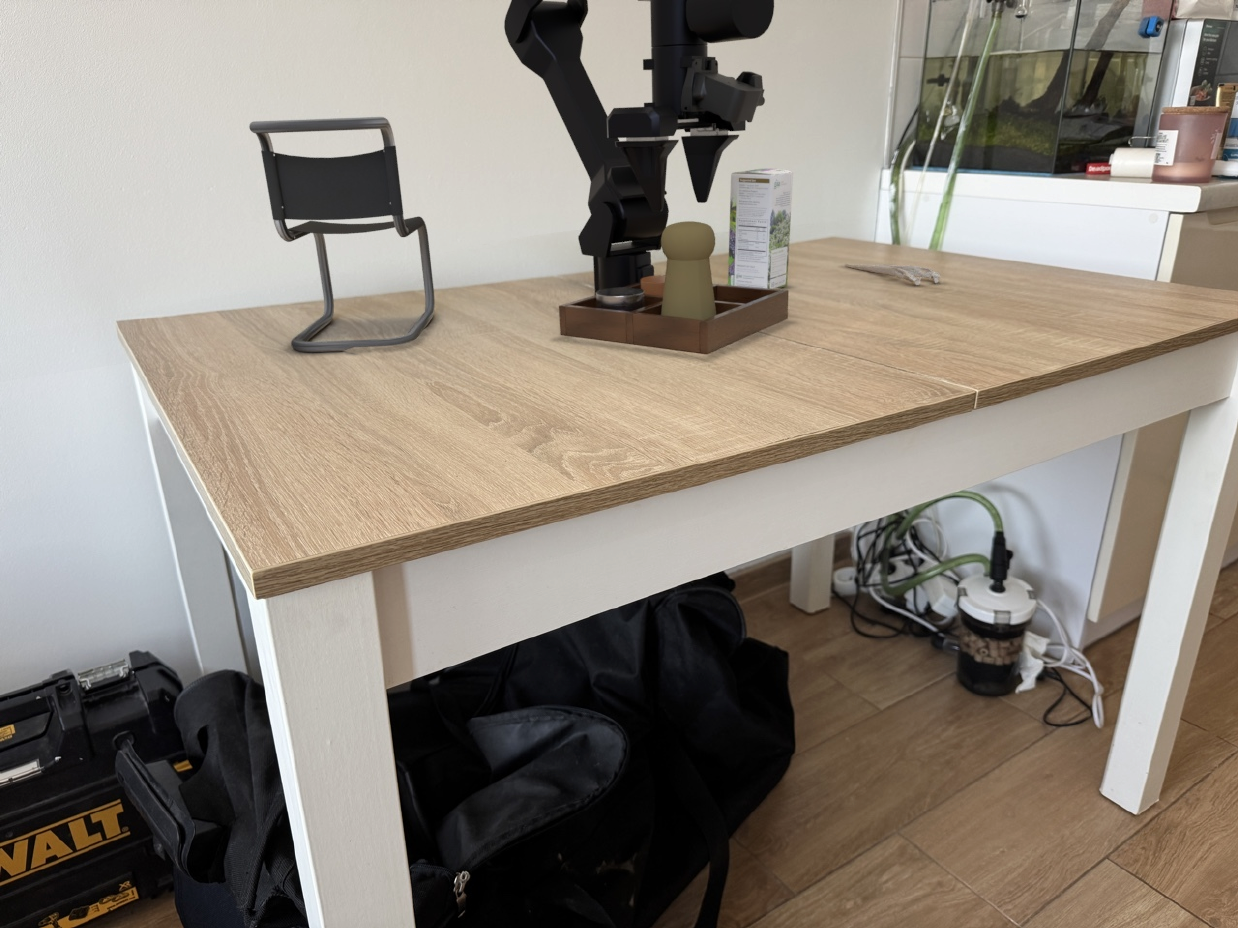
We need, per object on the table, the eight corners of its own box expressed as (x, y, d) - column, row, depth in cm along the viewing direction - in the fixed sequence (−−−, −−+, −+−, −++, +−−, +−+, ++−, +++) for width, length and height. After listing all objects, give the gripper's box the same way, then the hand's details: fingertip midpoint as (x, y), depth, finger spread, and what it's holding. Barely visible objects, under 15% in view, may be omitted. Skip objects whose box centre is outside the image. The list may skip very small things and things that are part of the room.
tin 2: (632, 317, 101) (631, 280, 99) (657, 308, 105) (656, 273, 103) (671, 321, 98) (670, 284, 97) (694, 312, 102) (694, 276, 100)
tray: (560, 339, 94) (558, 305, 93) (651, 308, 107) (651, 278, 106) (707, 359, 85) (707, 322, 83) (787, 322, 98) (788, 290, 97)
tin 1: (587, 332, 94) (586, 294, 93) (615, 323, 98) (614, 285, 97) (627, 337, 92) (626, 298, 90) (654, 327, 96) (653, 289, 94)
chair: (282, 355, 92) (242, 121, 84) (327, 319, 108) (297, 120, 100) (412, 349, 92) (384, 116, 84) (437, 314, 108) (416, 116, 100)
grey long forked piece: (942, 282, 116) (943, 266, 116) (912, 286, 115) (913, 270, 114) (858, 273, 132) (859, 258, 131) (831, 276, 130) (831, 262, 129)
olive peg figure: (654, 331, 93) (652, 220, 89) (713, 327, 94) (713, 217, 90) (662, 344, 87) (660, 227, 84) (724, 341, 88) (725, 224, 84)
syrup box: (748, 283, 120) (750, 168, 115) (789, 286, 117) (793, 168, 112) (727, 290, 116) (728, 171, 111) (769, 294, 113) (772, 171, 108)
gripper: (702, 37, 81) (702, 218, 86) (792, 45, 95) (787, 200, 101) (600, 46, 87) (606, 215, 92) (699, 52, 101) (699, 198, 107)
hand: (680, 206), depth 98 cm, fingers open, 9 cm apart
